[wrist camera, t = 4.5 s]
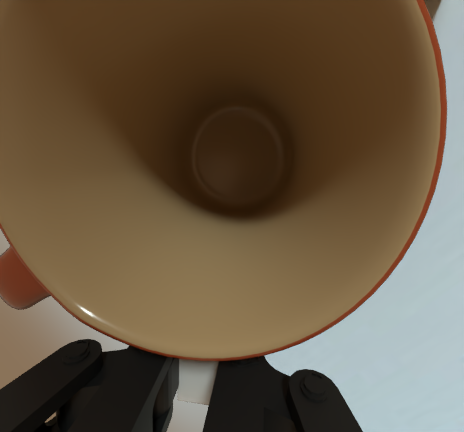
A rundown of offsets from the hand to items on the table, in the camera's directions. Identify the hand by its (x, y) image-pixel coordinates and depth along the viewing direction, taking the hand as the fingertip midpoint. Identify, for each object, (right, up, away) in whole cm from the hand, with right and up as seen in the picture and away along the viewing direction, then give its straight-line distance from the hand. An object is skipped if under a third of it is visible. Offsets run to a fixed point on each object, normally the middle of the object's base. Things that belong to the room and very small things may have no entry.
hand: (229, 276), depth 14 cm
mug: (-1, +6, +1) cm, 6 cm away
